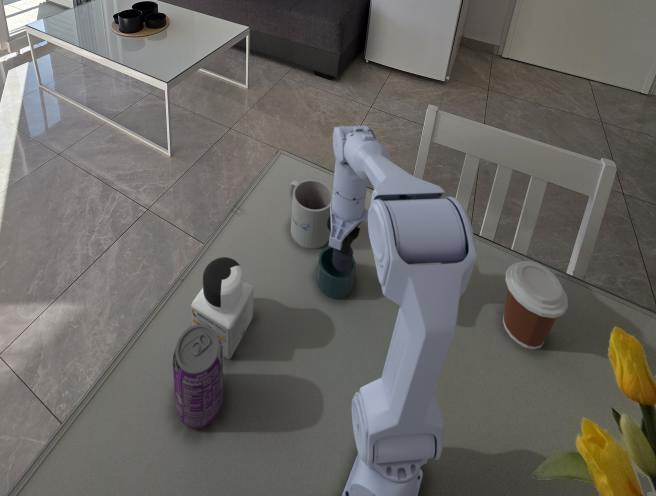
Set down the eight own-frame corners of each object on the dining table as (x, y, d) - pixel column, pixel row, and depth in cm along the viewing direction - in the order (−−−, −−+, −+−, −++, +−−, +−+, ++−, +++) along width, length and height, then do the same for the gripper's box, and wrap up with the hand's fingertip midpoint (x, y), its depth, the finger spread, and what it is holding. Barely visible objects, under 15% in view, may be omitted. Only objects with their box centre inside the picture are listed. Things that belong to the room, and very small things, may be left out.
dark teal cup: (343, 307, 78) (345, 287, 77) (310, 284, 82) (311, 265, 80) (359, 277, 84) (361, 258, 82) (327, 257, 87) (329, 239, 86)
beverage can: (201, 362, 69) (199, 310, 65) (232, 397, 65) (232, 344, 61) (165, 404, 64) (161, 350, 60) (197, 445, 60) (195, 390, 56)
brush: (348, 274, 77) (353, 235, 75) (329, 266, 79) (333, 227, 76) (353, 258, 81) (358, 220, 78) (335, 250, 82) (339, 212, 79)
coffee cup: (546, 371, 69) (565, 320, 66) (487, 329, 75) (501, 280, 71) (558, 328, 76) (575, 278, 72) (502, 292, 82) (516, 245, 78)
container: (191, 336, 73) (189, 280, 69) (217, 296, 79) (216, 243, 75) (229, 361, 69) (229, 304, 65) (253, 317, 76) (254, 263, 72)
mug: (337, 242, 91) (340, 205, 88) (299, 253, 88) (302, 215, 85) (313, 198, 102) (316, 164, 99) (279, 207, 99) (281, 172, 96)
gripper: (362, 228, 66) (354, 291, 71) (381, 168, 79) (373, 225, 83) (319, 211, 69) (314, 273, 73) (344, 156, 82) (338, 211, 86)
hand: (343, 246), depth 79 cm, fingers closed on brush
